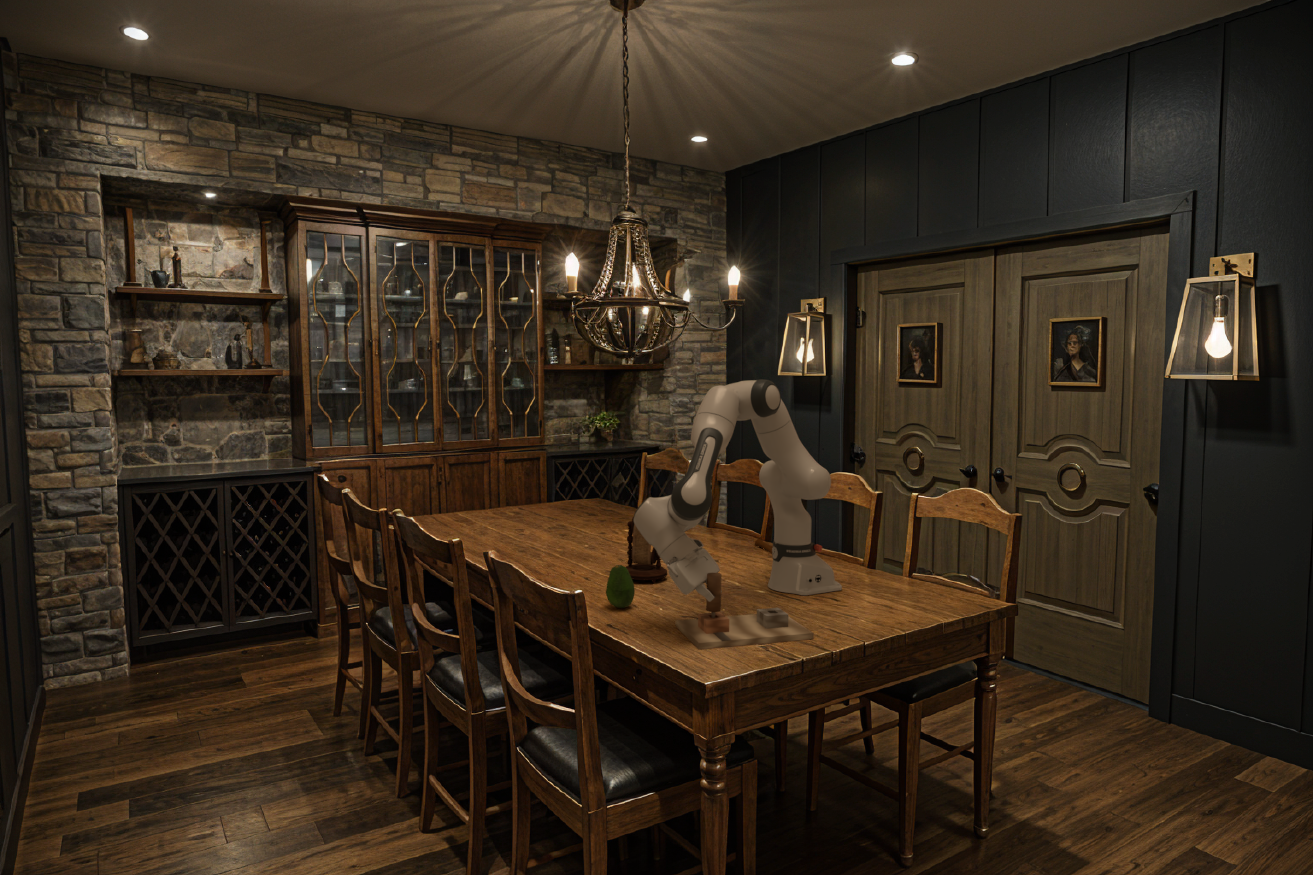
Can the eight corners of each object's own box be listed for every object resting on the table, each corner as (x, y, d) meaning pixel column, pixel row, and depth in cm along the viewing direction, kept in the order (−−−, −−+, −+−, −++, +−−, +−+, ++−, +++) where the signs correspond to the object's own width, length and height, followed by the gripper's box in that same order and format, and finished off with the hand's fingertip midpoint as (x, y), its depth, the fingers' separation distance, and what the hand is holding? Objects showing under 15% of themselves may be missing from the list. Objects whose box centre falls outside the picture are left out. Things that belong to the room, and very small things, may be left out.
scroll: (614, 582, 248) (614, 518, 246) (629, 571, 262) (630, 511, 260) (659, 586, 243) (660, 521, 242) (672, 575, 258) (673, 514, 256)
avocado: (609, 602, 225) (609, 561, 224) (636, 604, 224) (637, 562, 223) (602, 611, 217) (603, 567, 216) (631, 612, 216) (631, 569, 215)
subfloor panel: (781, 617, 214) (782, 600, 214) (813, 638, 197) (814, 620, 196) (675, 625, 205) (675, 608, 205) (698, 649, 188) (699, 629, 188)
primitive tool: (792, 557, 287) (792, 547, 287) (780, 559, 284) (780, 549, 284) (761, 547, 304) (761, 538, 304) (749, 548, 301) (749, 539, 301)
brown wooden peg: (717, 619, 201) (718, 572, 200) (722, 623, 197) (723, 575, 196) (703, 620, 200) (704, 572, 199) (708, 624, 196) (709, 576, 195)
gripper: (673, 554, 190) (710, 599, 187) (702, 539, 209) (737, 580, 206) (655, 570, 192) (692, 615, 189) (686, 554, 211) (720, 594, 208)
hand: (716, 597), depth 198 cm, fingers closed on brown wooden peg, 4 cm apart
